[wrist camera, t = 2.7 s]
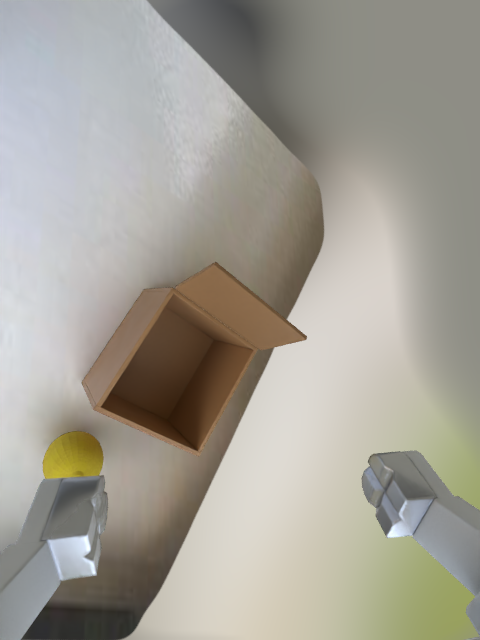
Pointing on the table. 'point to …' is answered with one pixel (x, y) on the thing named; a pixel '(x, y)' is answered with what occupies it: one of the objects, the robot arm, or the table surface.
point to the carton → (169, 370)
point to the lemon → (73, 456)
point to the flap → (239, 308)
